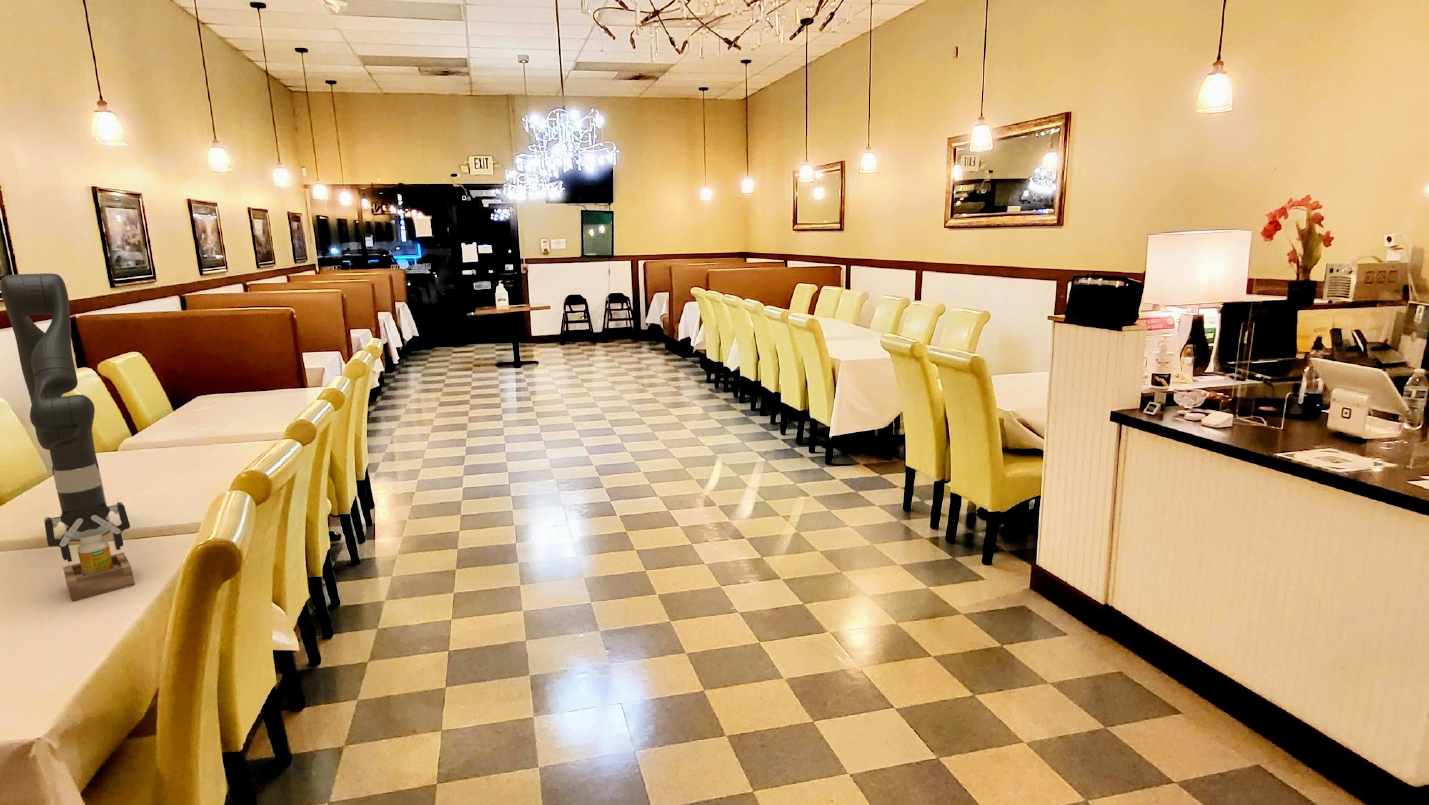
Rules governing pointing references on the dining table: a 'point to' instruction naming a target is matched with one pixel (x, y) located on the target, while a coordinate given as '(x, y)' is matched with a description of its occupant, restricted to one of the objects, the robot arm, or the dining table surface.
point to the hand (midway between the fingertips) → (94, 554)
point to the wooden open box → (98, 578)
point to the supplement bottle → (94, 553)
